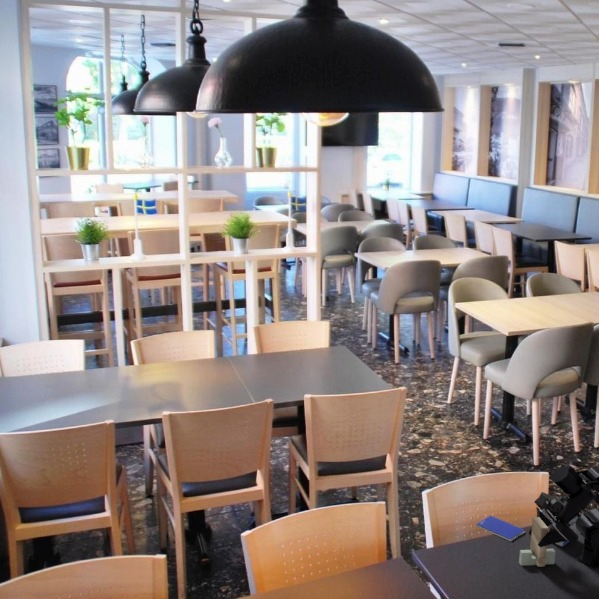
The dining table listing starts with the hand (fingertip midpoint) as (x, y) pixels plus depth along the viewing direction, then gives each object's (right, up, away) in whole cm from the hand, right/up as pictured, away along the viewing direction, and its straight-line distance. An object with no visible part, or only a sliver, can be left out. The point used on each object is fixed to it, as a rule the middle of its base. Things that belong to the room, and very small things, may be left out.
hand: (534, 540), depth 228 cm
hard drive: (-4, -4, +21) cm, 22 cm away
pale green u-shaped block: (+1, -7, +2) cm, 8 cm away
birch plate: (+1, -6, +2) cm, 7 cm away
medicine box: (+13, -5, +15) cm, 20 cm away
